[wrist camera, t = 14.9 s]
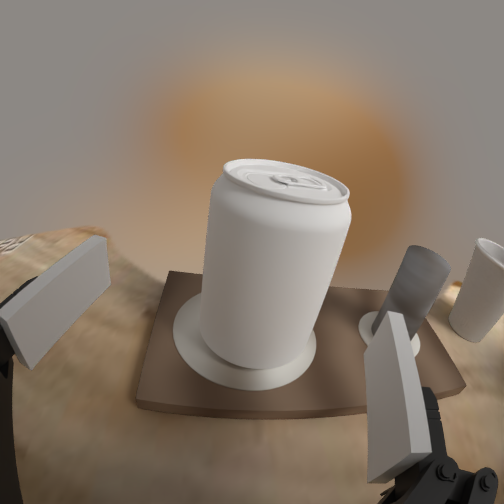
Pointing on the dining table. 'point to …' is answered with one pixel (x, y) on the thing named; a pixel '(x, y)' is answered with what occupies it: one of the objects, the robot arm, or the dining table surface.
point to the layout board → (306, 364)
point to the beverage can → (269, 259)
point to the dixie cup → (480, 293)
